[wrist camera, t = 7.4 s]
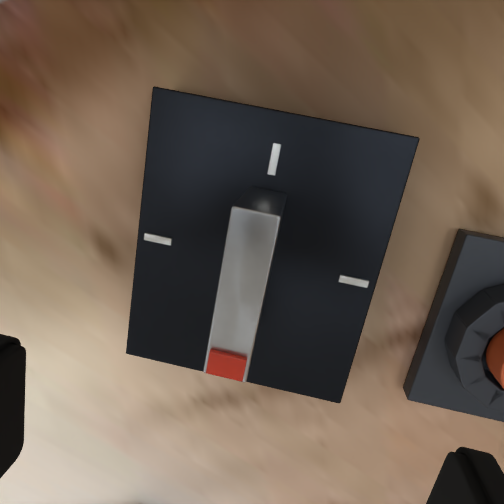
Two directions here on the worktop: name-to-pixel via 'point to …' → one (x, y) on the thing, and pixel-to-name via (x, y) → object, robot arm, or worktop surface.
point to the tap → (243, 282)
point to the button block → (463, 331)
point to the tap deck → (289, 239)
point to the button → (496, 356)
